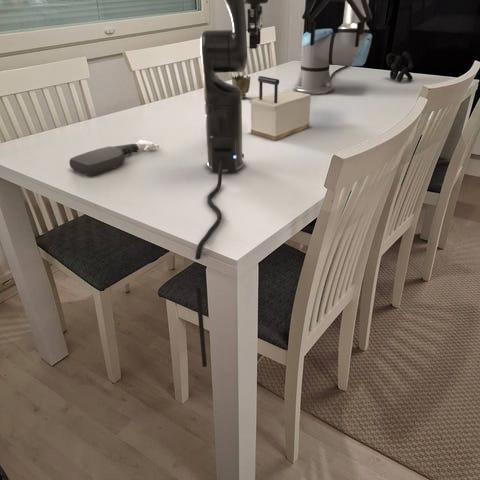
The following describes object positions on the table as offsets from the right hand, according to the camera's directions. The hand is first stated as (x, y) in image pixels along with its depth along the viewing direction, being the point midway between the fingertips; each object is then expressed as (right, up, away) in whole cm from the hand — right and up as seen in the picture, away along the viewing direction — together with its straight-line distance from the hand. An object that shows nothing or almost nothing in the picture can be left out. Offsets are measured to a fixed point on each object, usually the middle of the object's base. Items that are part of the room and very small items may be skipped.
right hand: (334, 45), depth 137 cm
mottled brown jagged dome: (-28, -3, +42) cm, 51 cm away
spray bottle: (-63, -37, -12) cm, 74 cm away
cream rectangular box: (-16, -24, +8) cm, 30 cm away
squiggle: (+43, +12, +64) cm, 78 cm away
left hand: (-24, -2, -3) cm, 25 cm away
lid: (-16, -16, +2) cm, 23 cm away
